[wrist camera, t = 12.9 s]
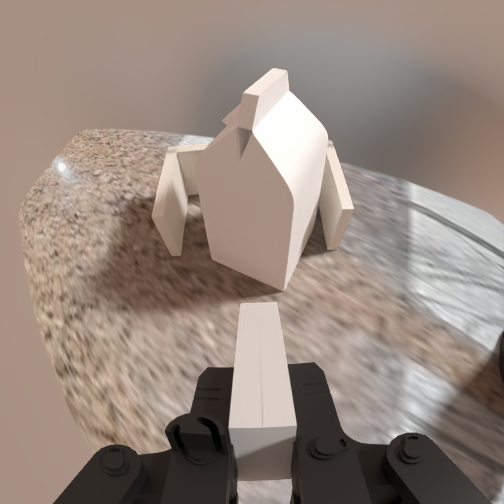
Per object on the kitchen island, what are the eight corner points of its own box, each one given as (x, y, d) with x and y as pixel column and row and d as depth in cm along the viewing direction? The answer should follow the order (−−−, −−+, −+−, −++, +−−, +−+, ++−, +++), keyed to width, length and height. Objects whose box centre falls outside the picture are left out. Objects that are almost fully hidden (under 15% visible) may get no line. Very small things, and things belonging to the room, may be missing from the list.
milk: (283, 291, 39) (310, 134, 17) (211, 259, 42) (167, 101, 19) (314, 227, 44) (348, 73, 22) (248, 202, 47) (240, 51, 25)
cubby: (322, 184, 49) (331, 140, 40) (336, 249, 42) (353, 209, 34) (181, 189, 49) (168, 147, 40) (171, 256, 42) (151, 217, 34)
